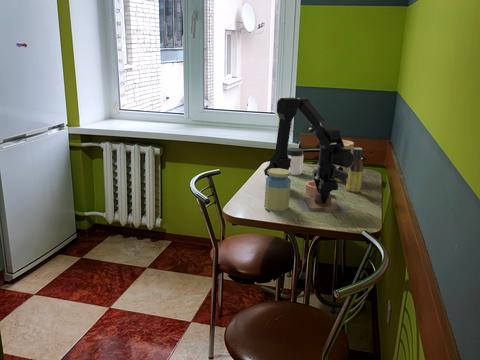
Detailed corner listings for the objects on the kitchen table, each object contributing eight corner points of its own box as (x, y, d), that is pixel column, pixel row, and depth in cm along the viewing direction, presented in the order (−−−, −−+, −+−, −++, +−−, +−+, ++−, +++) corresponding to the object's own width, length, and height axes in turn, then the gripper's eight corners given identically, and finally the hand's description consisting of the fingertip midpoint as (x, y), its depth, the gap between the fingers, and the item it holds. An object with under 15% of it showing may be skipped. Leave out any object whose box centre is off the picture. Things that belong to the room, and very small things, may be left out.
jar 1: (264, 204, 173) (267, 167, 169) (288, 206, 172) (291, 168, 168) (263, 212, 164) (266, 173, 160) (288, 214, 164) (291, 175, 159)
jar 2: (288, 169, 225) (290, 146, 222) (303, 172, 222) (305, 148, 218) (281, 173, 218) (283, 149, 214) (297, 176, 214) (299, 152, 211)
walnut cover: (309, 210, 166) (310, 198, 164) (303, 200, 177) (304, 188, 176) (341, 211, 166) (342, 199, 165) (333, 201, 178) (334, 189, 176)
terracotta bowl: (306, 199, 181) (308, 187, 180) (302, 191, 191) (303, 180, 189) (331, 200, 182) (332, 188, 180) (325, 192, 191) (327, 181, 190)
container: (350, 183, 207) (355, 145, 202) (323, 180, 209) (327, 143, 204) (348, 176, 219) (352, 140, 214) (322, 173, 221) (326, 138, 215)
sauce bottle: (349, 189, 197) (354, 145, 191) (362, 192, 193) (368, 148, 188) (342, 192, 192) (348, 147, 187) (356, 196, 188) (361, 150, 183)
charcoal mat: (301, 213, 165) (301, 211, 165) (295, 201, 178) (296, 198, 178) (349, 215, 166) (349, 212, 165) (340, 202, 179) (340, 200, 179)
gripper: (354, 168, 158) (349, 209, 162) (341, 156, 176) (337, 193, 180) (323, 167, 158) (319, 208, 162) (313, 155, 175) (310, 192, 180)
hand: (322, 200), depth 171 cm, fingers open, 5 cm apart
